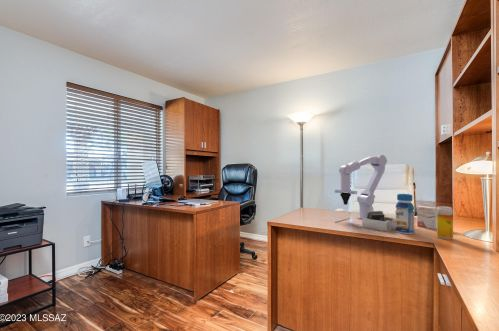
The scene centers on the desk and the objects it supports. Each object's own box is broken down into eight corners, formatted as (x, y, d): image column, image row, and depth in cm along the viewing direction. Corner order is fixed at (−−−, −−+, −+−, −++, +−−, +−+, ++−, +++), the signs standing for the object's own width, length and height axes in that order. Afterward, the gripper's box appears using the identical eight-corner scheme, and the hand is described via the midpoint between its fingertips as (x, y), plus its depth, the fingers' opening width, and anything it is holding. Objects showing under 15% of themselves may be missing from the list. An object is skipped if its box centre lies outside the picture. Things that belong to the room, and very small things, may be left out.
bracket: (373, 223, 148) (373, 213, 148) (396, 227, 138) (396, 217, 138) (362, 226, 138) (362, 216, 139) (387, 231, 128) (386, 220, 128)
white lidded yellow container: (454, 240, 112) (453, 208, 112) (437, 238, 115) (437, 207, 115) (451, 237, 117) (451, 206, 117) (436, 235, 120) (435, 205, 121)
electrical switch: (379, 225, 142) (380, 209, 142) (385, 228, 137) (386, 212, 136) (364, 225, 142) (365, 210, 141) (369, 228, 136) (370, 212, 136)
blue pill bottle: (417, 235, 122) (417, 195, 122) (399, 234, 123) (399, 195, 123) (409, 230, 130) (409, 193, 130) (392, 230, 131) (392, 193, 132)
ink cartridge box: (417, 226, 139) (416, 201, 140) (418, 225, 143) (418, 200, 143) (435, 229, 134) (435, 202, 134) (436, 227, 137) (436, 201, 137)
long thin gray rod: (348, 218, 161) (348, 218, 161) (350, 218, 161) (350, 218, 161) (334, 222, 150) (334, 222, 150) (335, 222, 149) (335, 222, 149)
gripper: (332, 183, 161) (332, 203, 161) (353, 184, 150) (353, 206, 150) (337, 183, 166) (337, 202, 166) (358, 184, 155) (358, 205, 154)
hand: (345, 204), depth 158 cm, fingers closed
